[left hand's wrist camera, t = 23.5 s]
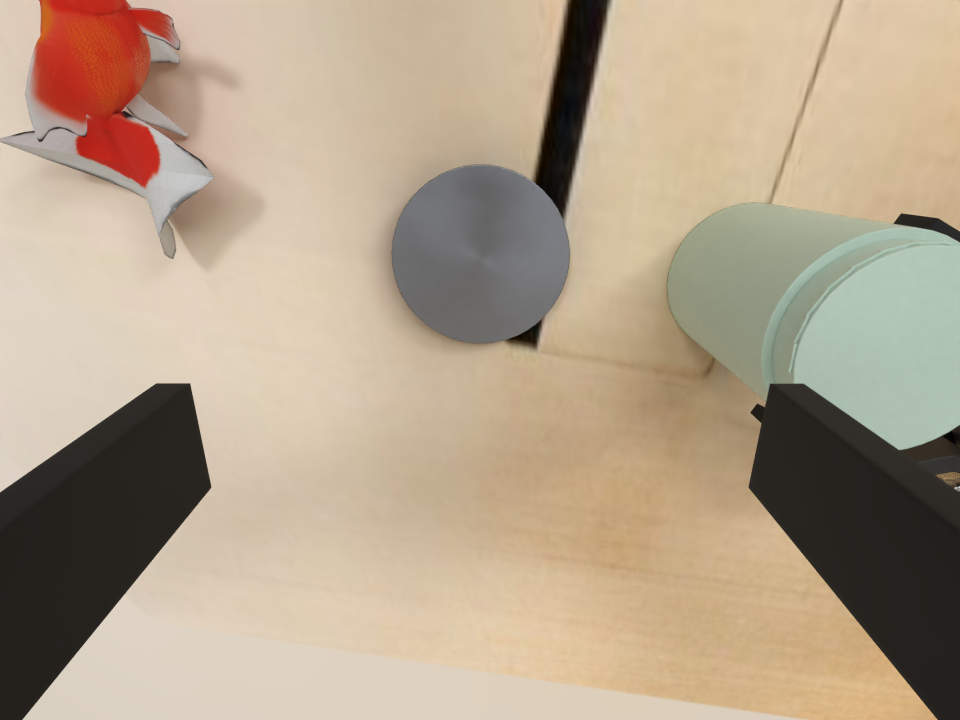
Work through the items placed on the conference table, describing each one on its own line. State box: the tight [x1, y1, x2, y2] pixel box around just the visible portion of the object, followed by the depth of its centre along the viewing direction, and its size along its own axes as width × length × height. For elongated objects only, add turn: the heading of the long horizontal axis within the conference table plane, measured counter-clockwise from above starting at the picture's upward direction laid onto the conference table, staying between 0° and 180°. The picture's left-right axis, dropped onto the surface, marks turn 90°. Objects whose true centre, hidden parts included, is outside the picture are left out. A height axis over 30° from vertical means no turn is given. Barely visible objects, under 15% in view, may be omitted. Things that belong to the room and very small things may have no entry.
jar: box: [667, 203, 960, 450], centre depth 30 cm, size 10×10×15 cm
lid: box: [392, 165, 570, 343], centre depth 36 cm, size 11×11×2 cm
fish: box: [0, 0, 214, 259], centre depth 30 cm, size 11×16×10 cm
